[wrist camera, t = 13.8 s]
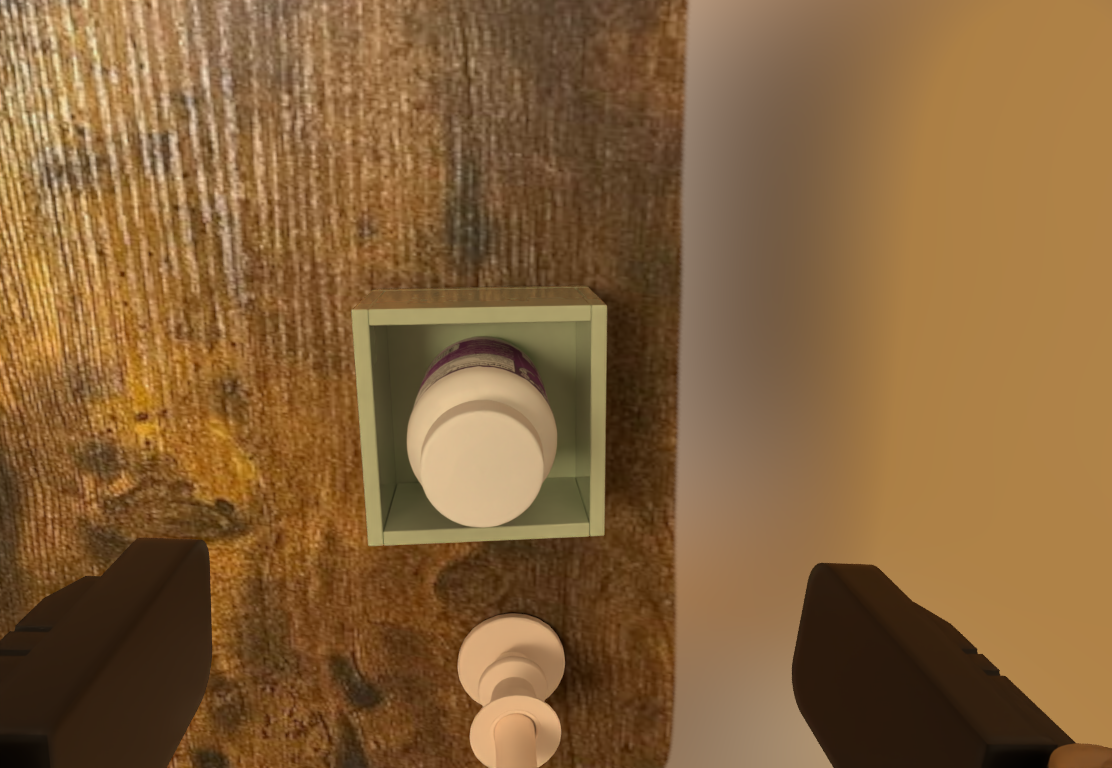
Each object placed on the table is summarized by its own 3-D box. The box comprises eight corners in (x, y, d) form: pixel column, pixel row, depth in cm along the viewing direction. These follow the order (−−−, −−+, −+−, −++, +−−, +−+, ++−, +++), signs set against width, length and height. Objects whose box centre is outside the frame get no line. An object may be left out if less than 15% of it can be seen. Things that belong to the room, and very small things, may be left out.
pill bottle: (551, 441, 34) (577, 536, 25) (433, 460, 34) (414, 563, 25) (534, 323, 33) (554, 378, 24) (410, 342, 33) (382, 404, 23)
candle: (458, 707, 38) (449, 894, 28) (456, 614, 37) (446, 774, 27) (563, 703, 39) (591, 885, 29) (565, 610, 37) (594, 766, 27)
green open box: (385, 490, 35) (368, 547, 30) (372, 288, 33) (350, 309, 27) (586, 483, 36) (604, 536, 30) (587, 285, 33) (607, 305, 28)
